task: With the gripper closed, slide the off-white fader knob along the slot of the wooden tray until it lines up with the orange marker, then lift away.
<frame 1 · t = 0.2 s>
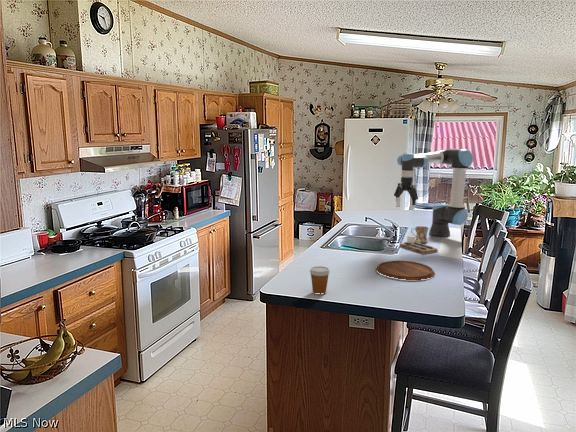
hand: (405, 208, 306), 26 cm above the countertop, fingers open, 13 cm apart
cutting board: (404, 272, 254), on the countertop
mug: (419, 242, 322), on the countertop
wooden tray: (418, 249, 303), on the countertop
beer glass: (319, 293, 221), on the countertop
fader knob: (410, 239, 308), point 5 cm above the countertop, slide at 0.0 cm
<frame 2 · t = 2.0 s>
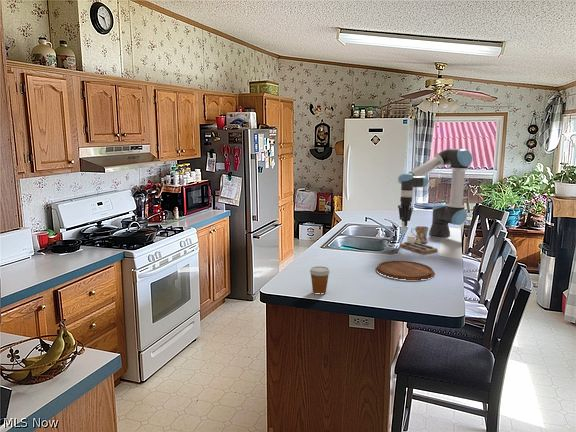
hand: (404, 230, 312), 10 cm above the countertop, fingers closed
nothing on the countertop moved.
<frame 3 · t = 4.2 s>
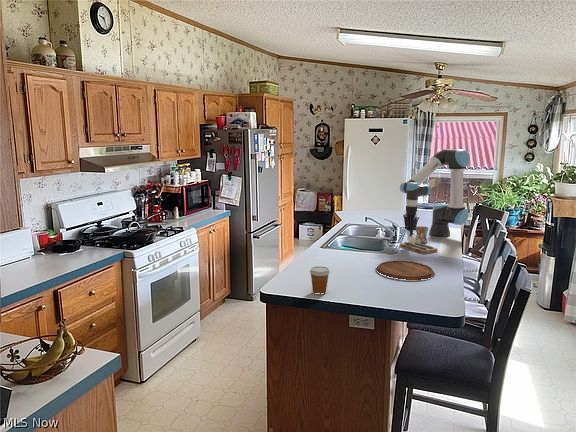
hand: (409, 239, 309), 4 cm above the countertop, fingers closed
fader knob: (412, 240, 307), point 5 cm above the countertop, slide at 1.1 cm, touching gripper
everything else where it was.
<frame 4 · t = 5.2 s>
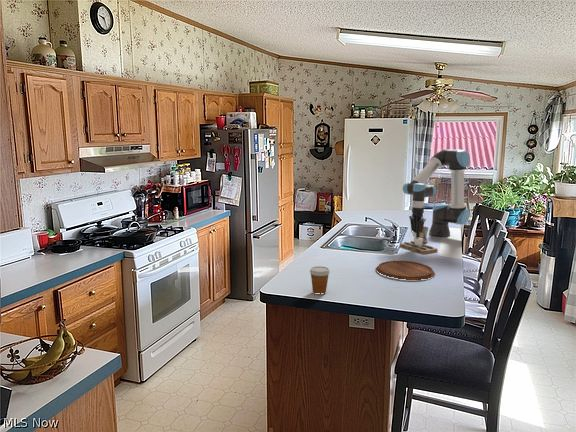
hand: (415, 241, 304), 4 cm above the countertop, fingers closed
fader knob: (418, 241, 302), point 5 cm above the countertop, slide at 7.0 cm, touching gripper
everything else where it was.
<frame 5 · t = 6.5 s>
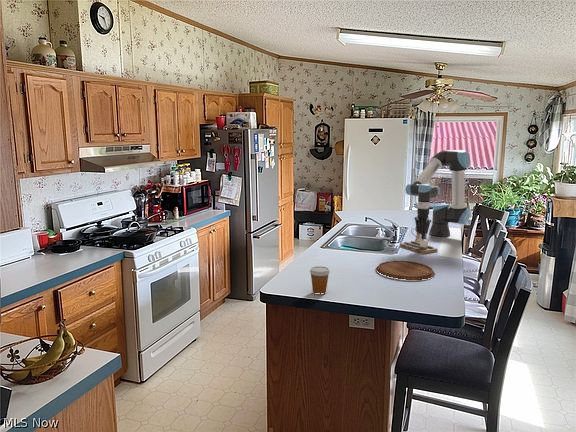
hand: (421, 243, 300), 4 cm above the countertop, fingers closed
fader knob: (423, 243, 298), point 5 cm above the countertop, slide at 11.8 cm, touching gripper
everything else where it was.
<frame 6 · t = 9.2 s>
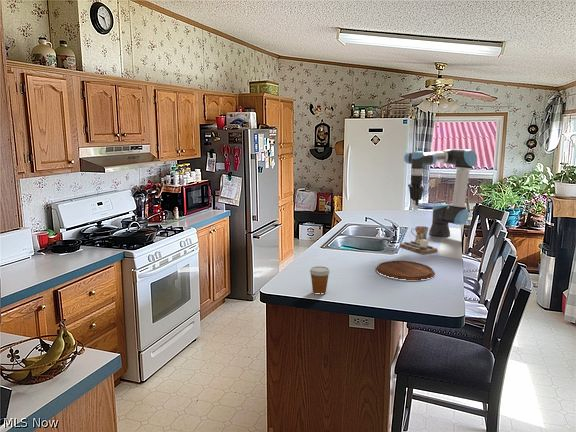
hand: (415, 209, 306), 25 cm above the countertop, fingers closed
fader knob: (424, 243, 298), point 5 cm above the countertop, slide at 11.9 cm
everything else where it was.
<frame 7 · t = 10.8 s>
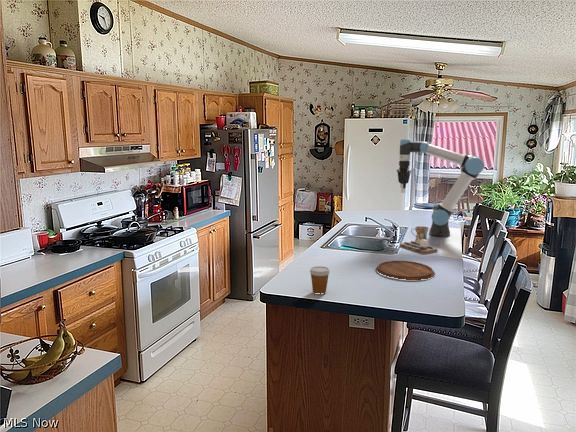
hand: (402, 192, 336), 32 cm above the countertop, fingers closed
nothing on the countertop moved.
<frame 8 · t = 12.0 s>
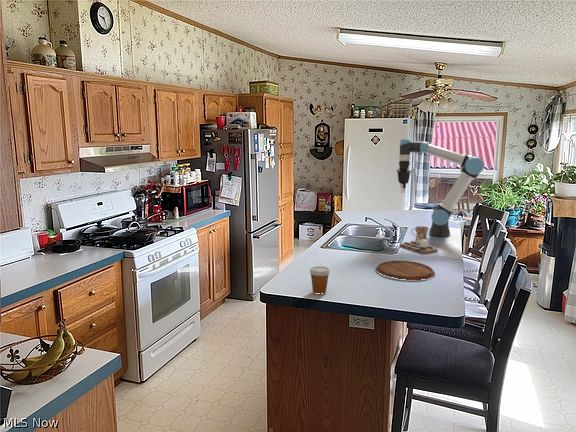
hand: (402, 192, 336), 32 cm above the countertop, fingers closed
nothing on the countertop moved.
at the end: fader knob slide at 11.9 cm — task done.
